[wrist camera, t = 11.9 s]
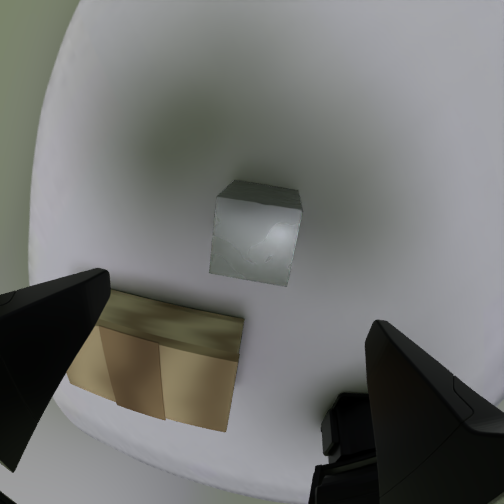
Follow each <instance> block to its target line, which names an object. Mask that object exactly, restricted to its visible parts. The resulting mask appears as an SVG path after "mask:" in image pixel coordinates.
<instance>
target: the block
mask: <svg viewBox="0 0 504 504" xmlns="http://www.w3.org/2000/svg"><path fill="white" fill-rule="evenodd" d="M302 212H303V209H302V205H301V200H300V196H299V192H298V190H292V189H287V188H281V187H275V186H269V185H263V184H257V183H250V182H244V181H237V180H234V181H233V182H232V183H231V184H230V185H229V186H227V187H226V188H225V189H224V190H223V191H222V192H221V193H220V194H219V195H218V196H217V199H216V208H215V218H214V227H213V237H212V248H211V259H210V270H209V273H211V274H216V275H222V276H227V277H233V278H238V279H244V280H250V281H255V282H261V283H267V284H273V285H279V286H285V287H287V284H288V279H289V275H290V270H291V266H292V261H293V256H294V251H295V247H296V242H297V237H298V232H299V227H300V222H301V217H302Z"/></svg>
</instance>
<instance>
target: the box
mask: <svg viewBox="0 0 504 504" xmlns="http://www.w3.org/2000/svg"><path fill="white" fill-rule="evenodd" d="M99 319H101V320H105V321H108V322H111V323H114V324H118V325H121V326H125V327H128V328H131V329H135V330H139V331H142V332H146V333H150V334H153V335H157V336H161V337H165V338H169V339H173V340H177V341H181V342H186V343H190V344H194V345H199V346H203V347H208V348H213V349H218V350H222V351H227V352H233V353H238V354H239V349H240V343H241V337H242V331H243V325H244V319H241V318H236V317H230V316H225V315H220V314H215V313H210V312H205V311H200V310H196V309H191V308H186V307H182V306H177V305H173V304H168V303H164V302H160V301H155V300H151V299H147V298H143V297H139V296H135V295H131V294H127V293H123V292H119V291H115V290H112V289H111V295H110V298H109V300H108V302H107V304H106V306H105V307H104V309H103V311H102V313H101V315H100V317H99Z"/></svg>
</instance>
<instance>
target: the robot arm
mask: <svg viewBox="0 0 504 504" xmlns="http://www.w3.org/2000/svg"><path fill="white" fill-rule="evenodd" d="M110 295H111V287H110V276H109V272H108V271H107V270H105V269H101V268H95V269H91V270H88V271H84V272H80V273H77V274H73V275H69V276H66V277H62V278H58V279H55V280H51V281H47V282H44V283H40V284H37V285H33V286H30V287H26V288H23V289H19V290H17V291H12V292H9V293H5V294H1V295H0V463H1V464H2V465H3V466H5V467H6V468H7V469H8V470H10V471H11V472H12V473H13V472H14V471H15V470H16V468H17V465H18V463H19V461H20V459H21V457H22V454H23V452H24V450H25V448H26V446H27V444H28V442H29V440H30V438H31V436H32V434H33V432H34V430H35V428H36V426H37V423H38V422H39V420H40V418H41V416H42V414H43V413H44V411H45V409H46V407H47V405H48V403H49V401H50V400H51V398H52V396H53V395H54V393H55V391H56V389H57V388H58V386H59V384H60V382H61V381H62V379H63V377H64V376H65V374H66V372H67V370H68V369H69V367H70V366H71V364H72V362H73V361H74V359H75V357H76V356H77V354H78V353H79V351H80V349H81V348H82V346H83V345H84V343H85V341H86V340H87V338H88V337H89V335H90V334H91V332H92V330H93V329H94V327H95V325H96V323H97V321H98V319H99V317H100V315H101V313H102V311H103V309H104V307H105V306H106V304H107V302H108V300H109V298H110ZM365 356H366V375H367V387H368V393H369V394H355V393H342V394H340V395H339V396H338V398H337V400H336V402H335V403H334V405H333V407H332V409H330V410H329V411H328V413H327V415H326V416H325V418H324V420H323V422H322V426H321V432H322V442H323V454H324V455H325V456H328V459H329V464H326V465H317V466H315V472H314V474H313V479H312V485H311V491H310V497H309V502H308V504H504V412H502V411H501V410H499V409H498V408H497V407H495V406H494V405H493V404H491V403H490V402H488V401H487V400H486V399H484V398H483V397H482V396H480V395H479V394H478V393H476V392H475V391H473V390H472V389H471V388H470V387H468V386H467V385H466V384H465V383H463V382H462V381H461V380H460V379H458V378H457V377H456V376H453V374H452V373H451V372H450V371H449V370H447V369H446V368H445V367H444V366H443V365H441V364H440V363H439V362H438V361H436V360H435V359H434V358H433V357H431V356H430V355H429V354H428V353H427V352H425V351H424V350H423V349H422V348H420V347H419V346H418V345H417V344H415V343H414V342H413V341H412V340H410V339H409V338H408V337H406V336H405V335H404V334H403V333H401V332H400V331H399V330H398V329H396V328H395V327H394V326H393V325H391V324H390V323H389V322H387V321H385V320H375V321H374V322H373V324H372V326H371V329H370V331H369V333H368V336H367V338H366V341H365ZM0 504H16V503H15V502H14V501H13V500H11V499H10V498H9V497H7V496H6V495H5V494H4V493H2V492H1V491H0Z"/></svg>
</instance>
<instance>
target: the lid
mask: <svg viewBox="0 0 504 504" xmlns="http://www.w3.org/2000/svg"><path fill="white" fill-rule="evenodd" d="M239 355H240V354H238V353H233V352H227V351H222V350H218V349H213V348H208V347H203V346H199V345H194V344H190V343H186V342H181V341H177V340H173V339H169V338H165V337H161V336H157V335H153V334H150V333H146V332H142V331H139V330H135V329H131V328H128V327H125V326H121V325H118V324H114V323H111V322H108V321H105V320H101V319H98V321H97V323H96V325H95V327H94V329H93V330H92V332H91V334H90V335H89V337H88V338H87V340H86V341H85V343H84V345H83V346H82V348H81V349H80V351H79V353H78V354H77V356H76V357H75V359H74V361H73V362H72V364H71V366H70V367H69V369H68V370H67V372H66V373H67V376H68V378H69V381H70V383H71V384H73V385H75V386H77V387H80V388H82V389H84V390H87V391H89V392H91V393H94V394H96V395H99V396H101V397H104V398H106V399H109V400H112V401H114V402H116V403H117V405H119V406H122V407H124V408H127V409H130V410H133V411H136V412H139V413H142V414H145V415H148V416H152V417H155V418H158V419H162V420H166V419H165V418H167V419H170V420H174V421H178V422H182V423H186V424H190V425H194V426H198V427H202V428H207V429H211V430H216V431H221V432H226V430H227V425H228V419H229V413H230V408H231V402H232V396H233V390H234V384H235V378H236V373H237V367H238V361H239Z"/></svg>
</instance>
